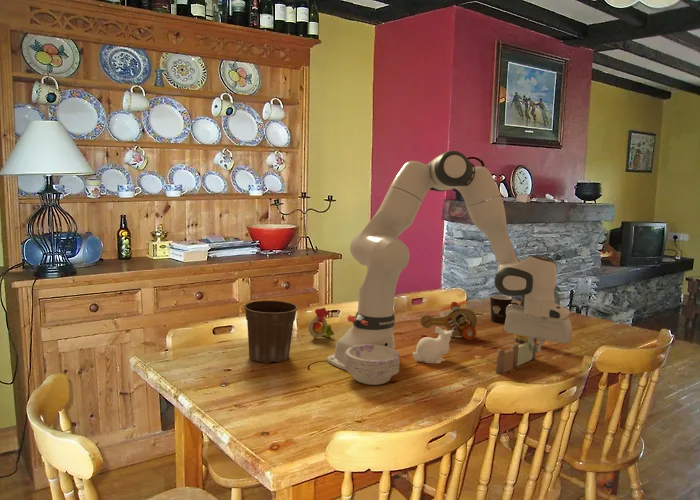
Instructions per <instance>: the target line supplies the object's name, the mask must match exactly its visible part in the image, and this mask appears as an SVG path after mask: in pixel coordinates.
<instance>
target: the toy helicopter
mask: <svg viewBox="0 0 700 500" xmlns="http://www.w3.org/2000/svg"><path fill="white" fill-rule="evenodd" d="M465 304H469V300H463V301H458V302H456V301H452V302H451V303H450V305H447V306H443V307H441V308H439V311H441V312H443V311H446V310H448V309H450V311H451V312H449V314H448V315H445V316H443V315H442V316H431V315H430V314H428V313H427V314H422V315H421V316H420V317H419V324H420V325H421V327H422V328H424V329H430V328H431V327H436V326H438V327H445V328H446V331H450V330H454V331H453V332H452V336H450V339H452V338H455V337H463V338H464V340H465V339H466V340H467V341H472V340H474V339H475V338H476V336H477V330H476V329H475V328H476V326H477V321H478V318H477V315H476V313H475V312H474V311H473V310H470V309H469V308H465V307H464V308H461V305H465Z"/></svg>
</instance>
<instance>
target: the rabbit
mask: <svg viewBox="0 0 700 500" xmlns="http://www.w3.org/2000/svg"><path fill="white" fill-rule="evenodd" d="M453 331H454V330H450V331H448V330H447V329H444V330H443V328H441V327H440V326H435V329H434V333H436V334H439V335H438V336H437V337H436V338H433V337H430V336H425V337H423V338H421V339H420V340H419V341H418V342H417V344H416V348H415V351H413V353H412V357H413V359H414V360H415V361H417V362H420V363H425V364H441V363H442V362H445V361H446V359H444V358H443V356H445V355H446V354H448V352H449V351H450V341H451V337H450V336H452V332H453Z"/></svg>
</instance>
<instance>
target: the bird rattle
mask: <svg viewBox="0 0 700 500" xmlns="http://www.w3.org/2000/svg"><path fill="white" fill-rule="evenodd" d="M314 313H315V314H316V316H313V317H312V318H311V319H310V320H309V323H308V326H307V327H308V332H309V334H310V335H311V336H312V337H313V339H314V340H317V339H318V338H321V337H322V336H324V335H325V337H326V338H327V337H330V338H331V336H335V331H333V329H332V325H331V324H328V322H327V320H326V318H325V317H327V316H329V314H330V312H329V311H328V310H327V308H326V307H321V308H316V309H315V310H314Z"/></svg>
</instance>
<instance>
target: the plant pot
mask: <svg viewBox="0 0 700 500" xmlns="http://www.w3.org/2000/svg"><path fill="white" fill-rule="evenodd" d="M243 308H244V310H245V311H244V312H245V320H246V323H247V339H248V340H247V341H248V355H249V359H251V360H252V361H255V362H257V363H264V364H271V363H272V362H275V363H281V362H285V361H287V360H288V359H289V358H290V353H291V352H290V351H291V344H292V337H293V328H294V322H295V320H296V314H297V311H298V309H299V307H298V305H296V304H295V303H292V302H289V301H285V300H283V301H282V300H268V299H267V300H256V301H255V300H253V301H249V302H248V303H245V304H244V306H243Z"/></svg>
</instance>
